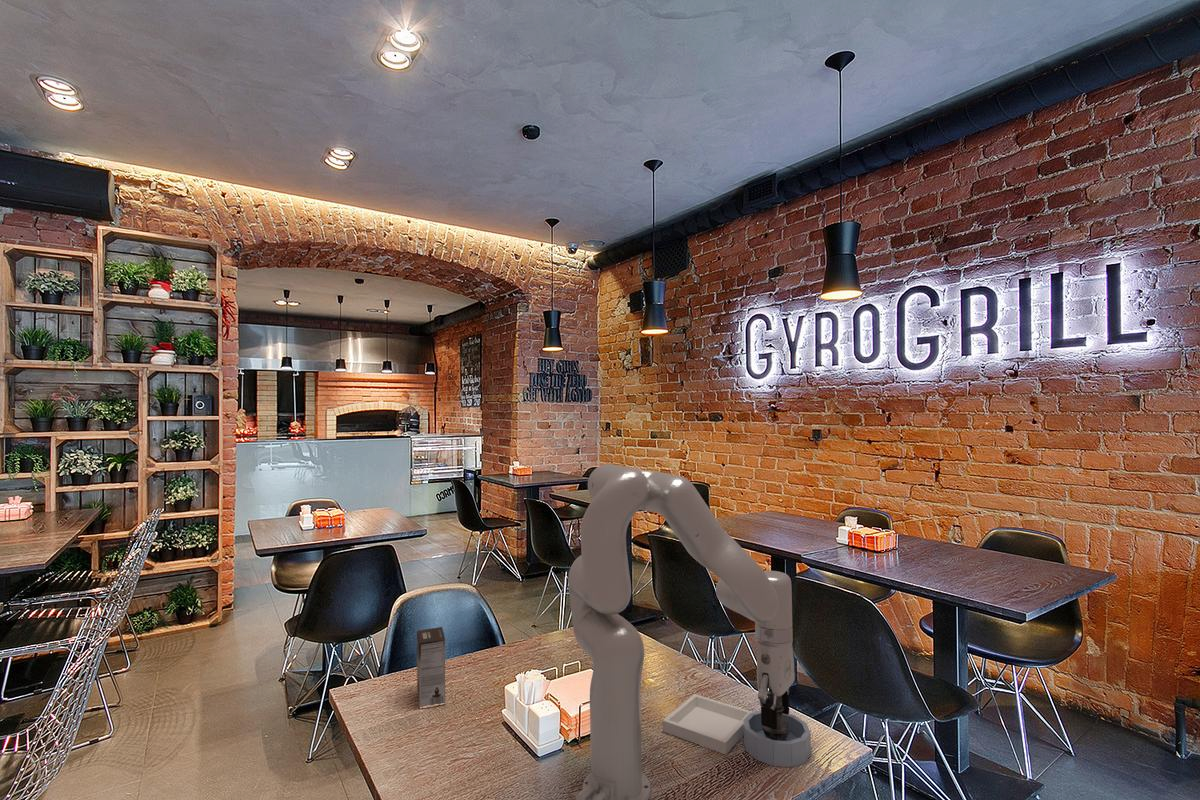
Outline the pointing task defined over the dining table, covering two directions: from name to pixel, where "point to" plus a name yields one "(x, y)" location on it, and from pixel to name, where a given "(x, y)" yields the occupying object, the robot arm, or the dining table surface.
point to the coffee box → (431, 666)
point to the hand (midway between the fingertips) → (775, 718)
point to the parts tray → (707, 723)
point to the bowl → (778, 742)
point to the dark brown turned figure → (782, 726)
